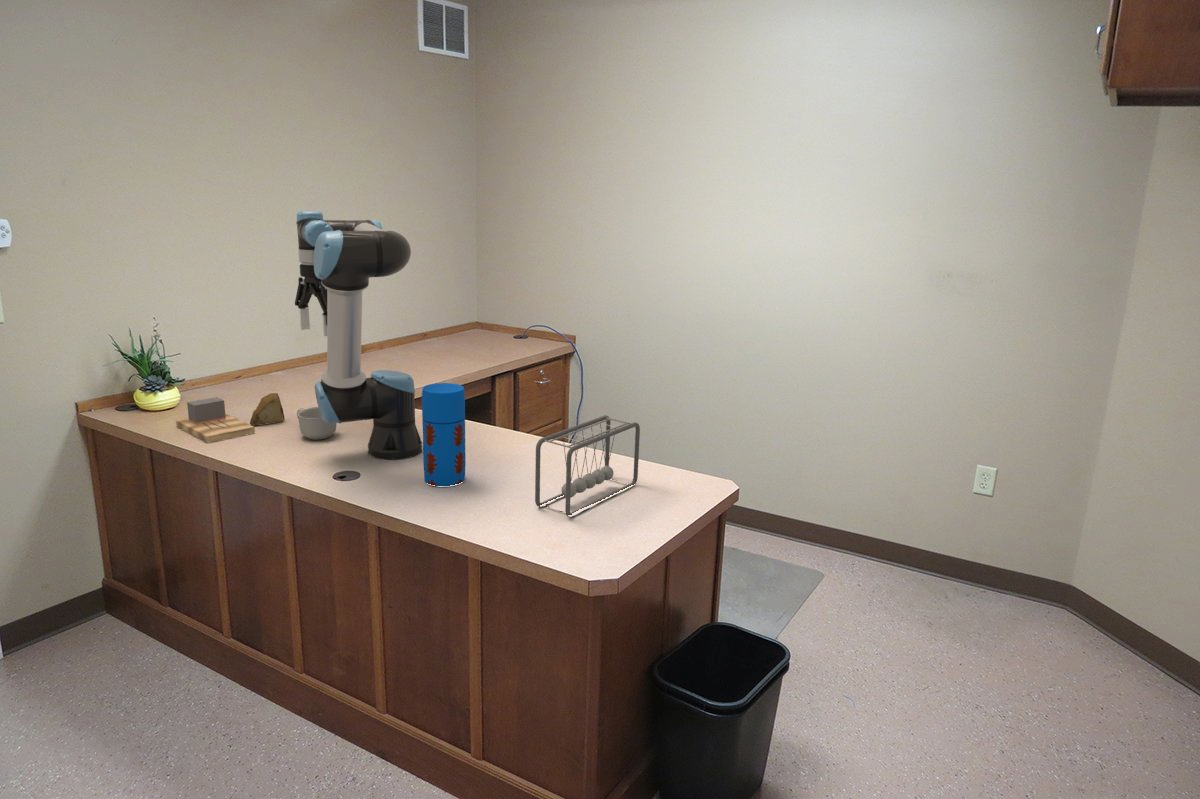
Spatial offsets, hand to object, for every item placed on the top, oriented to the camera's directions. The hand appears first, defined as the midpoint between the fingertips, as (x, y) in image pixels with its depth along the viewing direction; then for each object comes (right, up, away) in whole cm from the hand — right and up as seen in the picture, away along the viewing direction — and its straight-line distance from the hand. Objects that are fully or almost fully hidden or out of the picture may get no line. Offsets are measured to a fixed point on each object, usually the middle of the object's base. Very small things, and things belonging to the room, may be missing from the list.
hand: (316, 332), depth 254 cm
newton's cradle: (+85, -46, -46) cm, 107 cm away
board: (-29, -30, -4) cm, 42 cm away
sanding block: (-33, -27, -2) cm, 43 cm away
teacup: (+2, -32, -7) cm, 33 cm away
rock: (-17, -28, +5) cm, 33 cm away
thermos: (+47, -42, -39) cm, 74 cm away
